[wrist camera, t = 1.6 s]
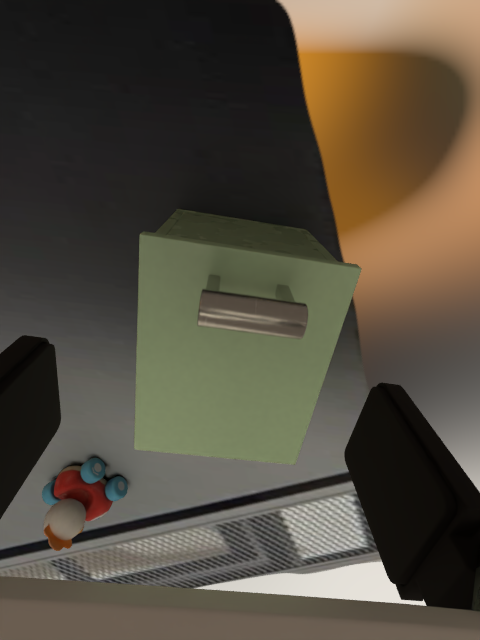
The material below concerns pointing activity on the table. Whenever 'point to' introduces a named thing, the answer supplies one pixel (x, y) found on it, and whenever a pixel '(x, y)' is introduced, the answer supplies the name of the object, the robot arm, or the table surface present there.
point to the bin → (243, 234)
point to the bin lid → (233, 346)
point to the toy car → (78, 500)
